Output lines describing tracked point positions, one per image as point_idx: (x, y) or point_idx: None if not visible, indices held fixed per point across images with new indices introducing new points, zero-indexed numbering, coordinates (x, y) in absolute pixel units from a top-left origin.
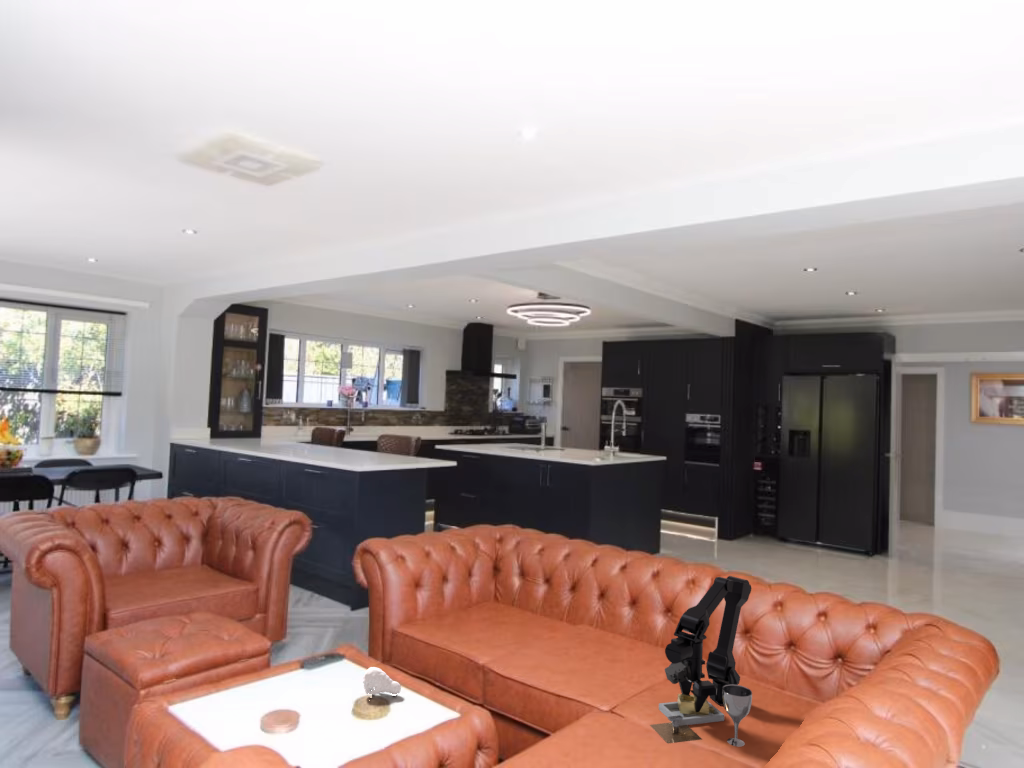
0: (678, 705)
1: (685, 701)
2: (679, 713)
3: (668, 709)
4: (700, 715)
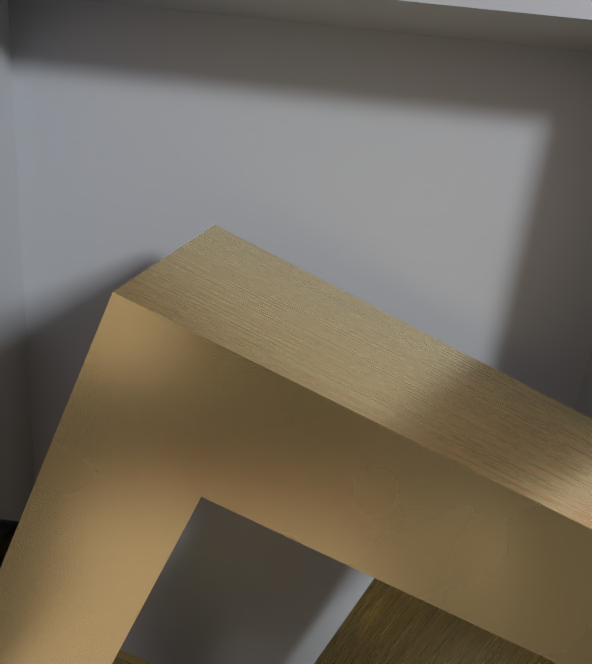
0: (475, 372)
1: (119, 499)
2: (397, 315)
3: (450, 1)
4: (215, 586)
